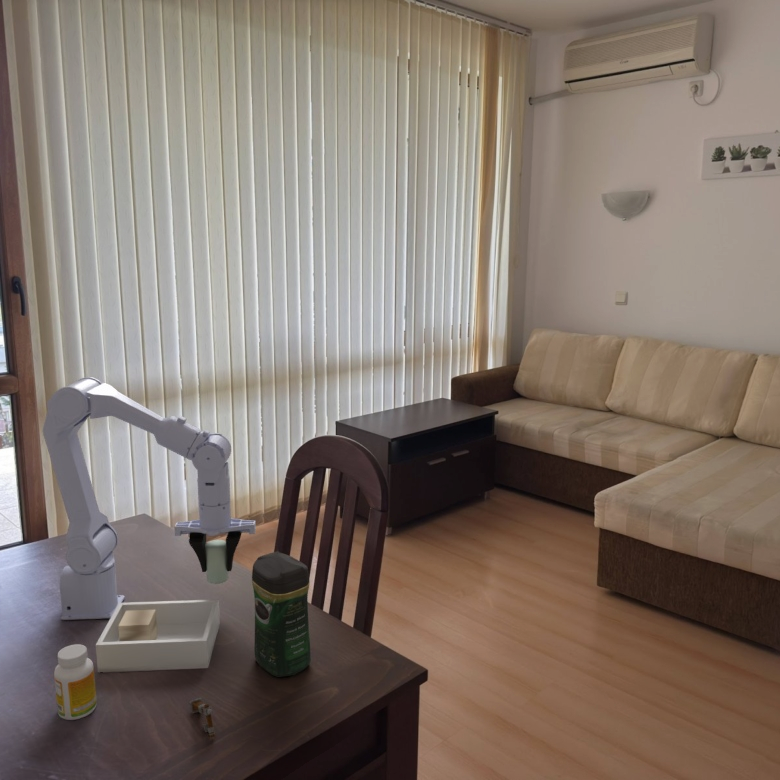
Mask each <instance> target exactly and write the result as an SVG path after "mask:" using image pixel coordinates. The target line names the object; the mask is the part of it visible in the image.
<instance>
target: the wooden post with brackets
mask: <svg viewBox="0 0 780 780" xmlns="http://www.w3.org/2000/svg"><path fill="white" fill-rule="evenodd" d="M189 708H190V714H196V713H198V712H199V713H200V714H201V715H205V718H206V722H205V723H203V724H202V728H203V731H204V733H208V735H209V738H210V739H212V738H215V737H216V735H215V727H214V726H215V725H214V724H213V723H214V722H213V719H212V714H213V708H212V706H210V704H209V703H206V704H205V703H203V700H202V697H198V698H194V699H192V700H189Z"/></svg>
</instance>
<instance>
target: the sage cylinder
mask: <svg viewBox="0 0 780 780" xmlns="http://www.w3.org/2000/svg"><path fill="white" fill-rule="evenodd" d="M205 550H206V581H207V583H208V584H213V585H218V584H223V583H226V582H227V581H229V579H230V577H229V576H230V575H229V574H230V573H229V571H227V547H226V540H223V539H213V540H209V541H206V544H205Z"/></svg>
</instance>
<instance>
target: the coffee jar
mask: <svg viewBox="0 0 780 780" xmlns="http://www.w3.org/2000/svg"><path fill="white" fill-rule="evenodd" d="M310 582H311V581H310V575H309V568H308V566H307V565H306V564H305V563H303V562H302V561H300V560H298V559H297V558H295V557H294V556H292V555H288V554H286V553H283V552H280V551H277V550H276V551H273V552H270V553H267V554H263V555H260V556H258V557H257V558H256V560H255V561H254V563H253V565H252V571H251V583H252V588H253V595H254V643H253V644H254V659H255V661H256V662H257V663H258V665H259V666H260V667H261V668H262V669H263V670H265V672H267V673H268V674H270V675H272V676H273V677H274V676H275V677H277V678H278V677H289V676H295V675H297V674H298V673H301V672H302V671H304V670H305V669H306V668H307V667H308V666H309V665H310V664H311V658H312V656H311V640H310V627H309V609H308V608H309V607H308V596H309V589H310Z"/></svg>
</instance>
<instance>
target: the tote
mask: <svg viewBox="0 0 780 780" xmlns="http://www.w3.org/2000/svg"><path fill="white" fill-rule="evenodd" d="M219 602H220V600H219V599H217V598H216V599H194V600H193V599H192V600H191V599H190V600H187V599H186V600H164V601H163V600H162V601H160V600H159V601H132V602H131V601H130V602H122V603H119V604H118V606H117V607H116V609H115V611H114V613H113V615H112V616H111V618H109V620H108V622H107V624H106V625H105V627H104V629H103V630H102V633H101V635H100V636H99V638H98V640H97V641H96V644H95V654H96V655H95V656H96V666H97V667H96V668H97V673H98V674H100V672H103V673H120V672H121V673H122V672H123V673H124V672H145V671H167V670H168V671H169V670H170V671H171V670H191V669H193V670H194V669H208V668H209V667H210V662H211V659H212V654H213V651H214V647H215V643H216V640H217V636H218V632H219V628H220V625H221V623H220V621H221V620H220V618H221V617H220V603H219ZM130 610H156V623H157V637H156V640H143V641H119V629H118V625H119V623H120V622H121V620H122V618H123V616H124V614H125V612H126V611H130Z"/></svg>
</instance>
